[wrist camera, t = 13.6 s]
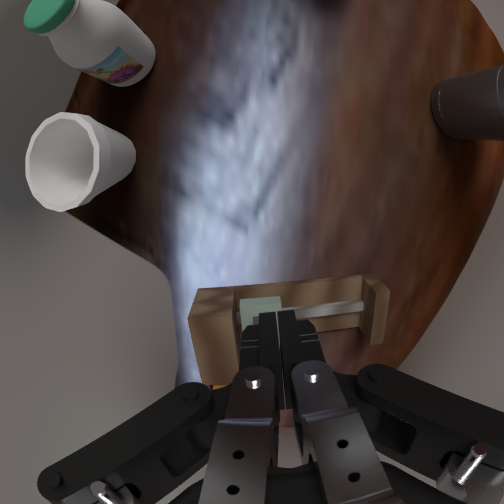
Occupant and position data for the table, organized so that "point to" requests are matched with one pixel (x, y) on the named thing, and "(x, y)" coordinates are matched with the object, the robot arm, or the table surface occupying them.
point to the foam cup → (75, 160)
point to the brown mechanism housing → (292, 297)
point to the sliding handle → (258, 309)
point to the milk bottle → (93, 38)
